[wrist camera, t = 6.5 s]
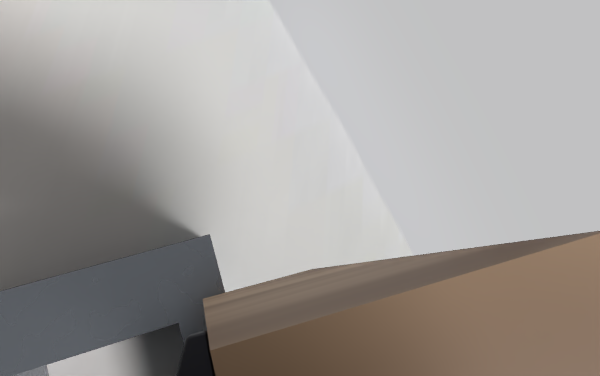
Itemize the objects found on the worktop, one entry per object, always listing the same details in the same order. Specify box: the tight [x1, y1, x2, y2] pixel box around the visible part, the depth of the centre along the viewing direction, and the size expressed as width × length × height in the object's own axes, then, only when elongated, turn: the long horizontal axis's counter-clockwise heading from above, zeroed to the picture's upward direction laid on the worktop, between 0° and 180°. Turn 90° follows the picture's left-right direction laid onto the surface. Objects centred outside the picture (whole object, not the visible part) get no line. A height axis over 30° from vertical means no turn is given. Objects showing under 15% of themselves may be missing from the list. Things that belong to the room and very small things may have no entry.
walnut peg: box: [203, 231, 600, 376], centre depth 10 cm, size 4×4×12 cm
